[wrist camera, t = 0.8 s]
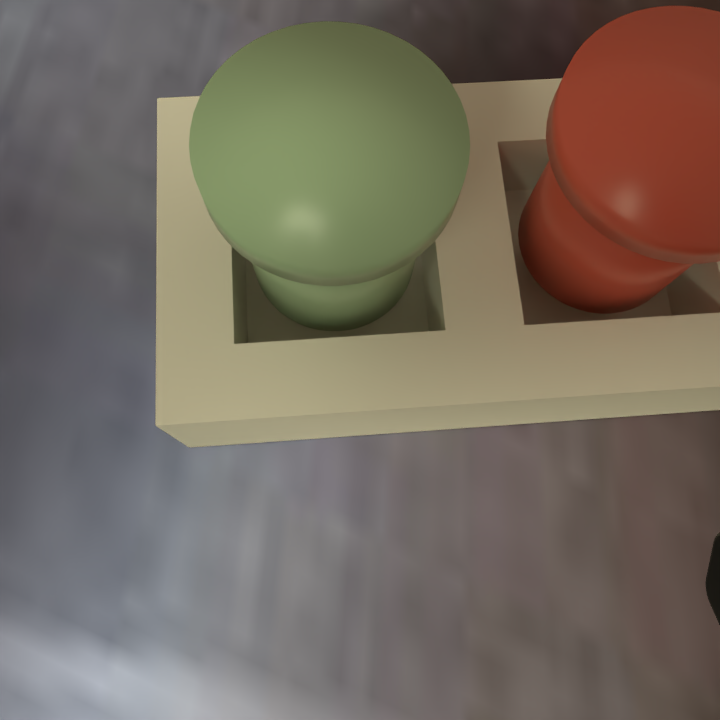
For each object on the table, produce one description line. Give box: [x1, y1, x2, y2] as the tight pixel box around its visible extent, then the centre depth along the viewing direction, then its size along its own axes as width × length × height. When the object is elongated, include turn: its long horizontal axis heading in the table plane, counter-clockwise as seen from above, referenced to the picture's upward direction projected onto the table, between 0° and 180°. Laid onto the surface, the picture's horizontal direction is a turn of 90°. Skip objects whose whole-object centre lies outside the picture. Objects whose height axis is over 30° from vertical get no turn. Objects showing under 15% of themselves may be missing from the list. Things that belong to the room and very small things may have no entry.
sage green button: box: [189, 22, 470, 331], centre depth 17 cm, size 6×6×6 cm
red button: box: [518, 6, 720, 314], centre depth 18 cm, size 6×6×6 cm
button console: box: [156, 78, 720, 448], centre depth 22 cm, size 10×26×4 cm, turn 94°
